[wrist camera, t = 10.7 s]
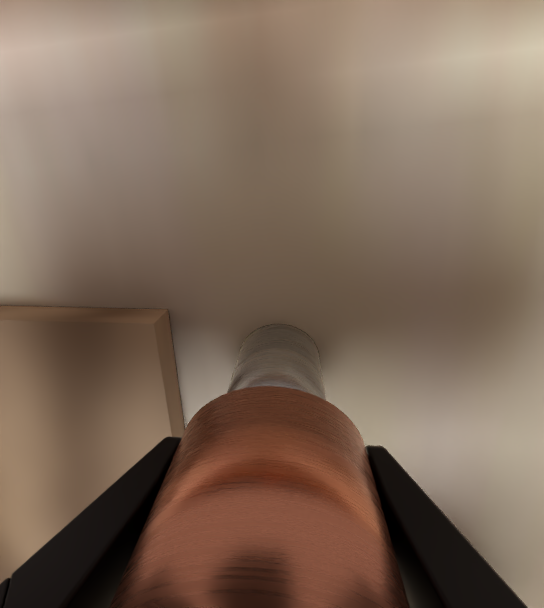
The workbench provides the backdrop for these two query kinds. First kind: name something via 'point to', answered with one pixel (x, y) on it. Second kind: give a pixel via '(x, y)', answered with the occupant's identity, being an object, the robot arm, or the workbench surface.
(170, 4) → the workbench surface
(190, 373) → the workbench surface
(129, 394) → the plywood board
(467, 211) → the workbench surface
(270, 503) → the copper and grey cylinder
